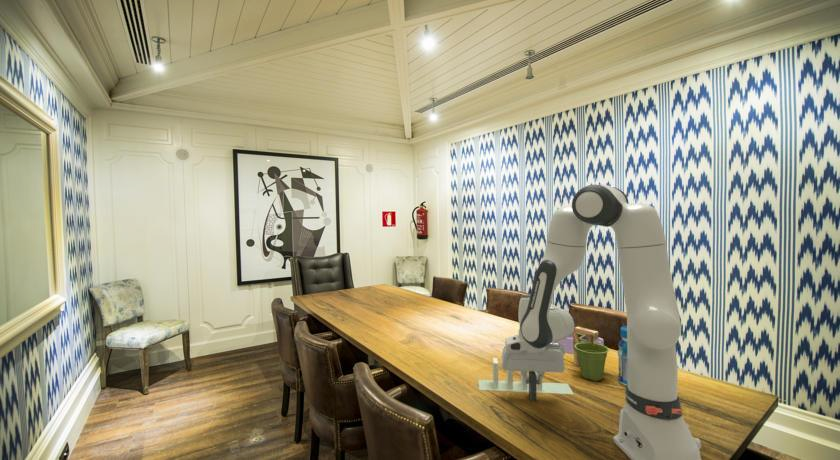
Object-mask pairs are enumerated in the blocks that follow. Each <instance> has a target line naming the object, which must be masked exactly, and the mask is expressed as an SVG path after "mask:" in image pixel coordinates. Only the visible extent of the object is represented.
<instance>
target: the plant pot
mask: <svg viewBox="0 0 840 460" xmlns="http://www.w3.org/2000/svg"><path fill="white" fill-rule="evenodd" d="M574 347H575V348H576V351H577V354H578V358H579V363H580V366H579V368H580V372H581V376H582V377H583V378H584V379H589V380H591V381H601V380H602V379H603V378H604V373H605V365H606V359H607V356H608V353H609V352H610V349H609V347H608V346H606V345H604V346H603V345H600V344H596V343H594V347H593V346H592V345H591V343H577V344H575V346H574Z"/></svg>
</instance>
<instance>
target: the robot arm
mask: <svg viewBox="0 0 840 460" xmlns="http://www.w3.org/2000/svg"><path fill="white" fill-rule="evenodd" d="M594 226H600V227H605V228H606V227H607V228H608V227H610V228H612V230H613V232H614V235H615V240H616V247H617V254H618V260H619V261H618V262H619V269H620V275H621V282H622V288H623V295H624V297H623V298H624V303H625V310H626V326H627V385H626V386H625V390H624V395H625V397H624V398H625V401H626V402H625V404H624V406H623V407H622V408H621V410H620V412H619V413H620V414H619V423H618V433H617V434H616V435H614V436H613V439H612V441H613V443H614V444H615V445H616V446H617V447H618V448H619V449H620V450H621V451H622V452H623V453H624V454H625V455H626V456H627V457H628V458H629V459H630V460H702V457H701V451H700V449H702V442H701V440H700V439H699V438H698V437H694V436H693V435H692V432H691V431H690V430H691V427H690V425H689V424H686V421H685V420H684V417H683V414H684V413H683V411H684V410H683V408H682V403H681V400H680V396H679V395H678V373H679V372H678V361H677V360H678V359H677V358H678V357H677V348H676V343H677V342H678V341H679V338H680V337H681V332H682V323H681V318H680V312H679V307H678V303H677V302H678V301H677V297H676V292H675V287H674V284H673V279H672V272H671V268H670V267H671V266H670V262H669V255H668V248H667V247H668V246H667V241H666V235H665V232H664V228H663V225H662V221H661V219H660V216H659V214H658V211H657V209H656V208H655V207H653V206H651V205H649V204H646V203H645V204H644V203H630V202H629V198H628V197H627V194H625V192H623V191H622V190H621V189H619V188H617V187H614V186H611V185H608V184H589V185H586V186H583V187H582V188H580V189H579V190H578V191H577V192H576V193H575V194H574V196H573V198H572V201H571V205H570V206H566V205H565V206H562V207H559V208H557V209H556V210H555V211H554V213H553V215H552V217H551V221H550V224H549V226H548V232H547V238H546V243H545V244H546V245H545V249H544V254H543V256H542V260H541V262H539V264H538V267H537V269H536V272H535V275H534V280H533V284H532V288H531V292H530V294H527V295H522V296H521V297H520V299H519V303H518V324H519V329H518V334H516V335H512V336H508V337H506V338H504V345H505V346H503V348H502V352H501V361H500V363H501V368H502V369H503V370H504V371H507V370H511V371H513V372H514V371H515V372H516V371H517V372H520V375H521V374H522V375H523V377H524V383H525V384H529V376H527V377H526V376H525V374H526V371H527V372H529V371H536V372H539V373H540V374H539V376H538V377H536V384H541V379H542V380H543V378H544V377H545V373H563V372H565V370H566V364H565V358H564V356H565V348H564V346H563V345H560V343H554V342H557V341H560V340H562V339H565V338H567V337H569V336H571V335H572V334H573V332H574V329H575V327H576V326H575V325H576V324H575V319H574V317H573V315H572V314H571V313H570V312H569V311H568V310H567V309H565V308H560V307H559V306H556V305H554V304H553V303H552V302H553V297H554V293H555V290H556V288H557V287H558V285H559V284H560V283H561V282H562V281H563V280H564V279H566V278H567V277H568V276H570V275H571V274H573V273H575V272H576V271H577V270H578V269H580V267H581V266H582V264H583V261H584V259H585V254H586V249H587V248H586V247H587V241H588V240H587V239H588V235H589V232H590V229H591V228H592V227H594Z"/></svg>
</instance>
